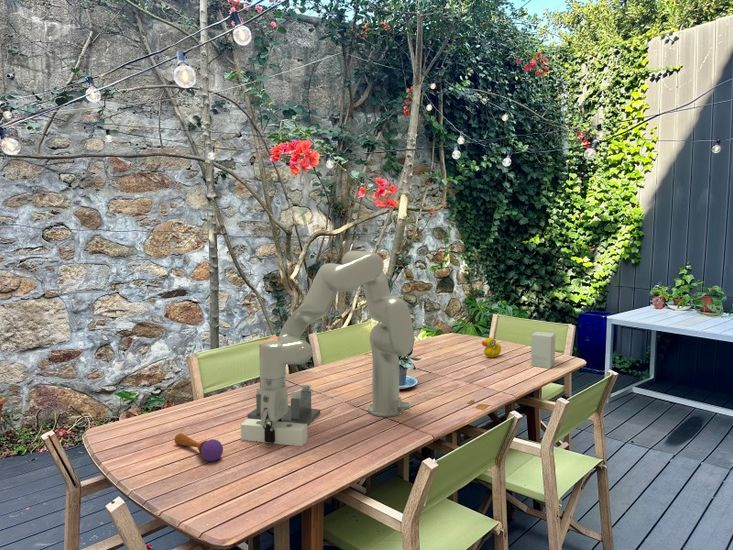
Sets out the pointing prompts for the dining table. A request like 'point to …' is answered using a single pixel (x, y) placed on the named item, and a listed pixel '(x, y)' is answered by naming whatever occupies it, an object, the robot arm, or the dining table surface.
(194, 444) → the purple maraca
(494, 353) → the duckling
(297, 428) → the cream rectangular bar
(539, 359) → the supplement box
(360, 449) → the dining table surface
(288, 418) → the rack
